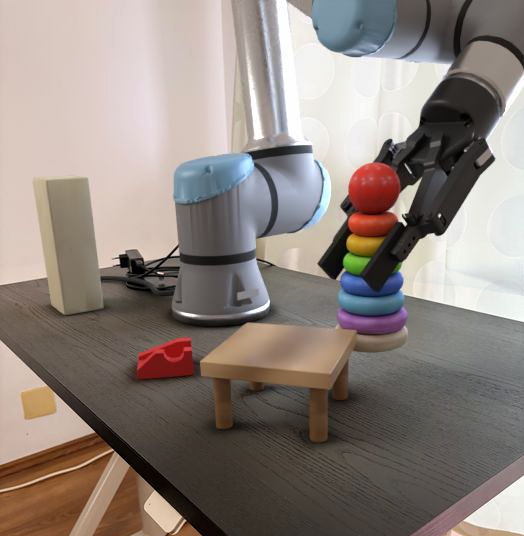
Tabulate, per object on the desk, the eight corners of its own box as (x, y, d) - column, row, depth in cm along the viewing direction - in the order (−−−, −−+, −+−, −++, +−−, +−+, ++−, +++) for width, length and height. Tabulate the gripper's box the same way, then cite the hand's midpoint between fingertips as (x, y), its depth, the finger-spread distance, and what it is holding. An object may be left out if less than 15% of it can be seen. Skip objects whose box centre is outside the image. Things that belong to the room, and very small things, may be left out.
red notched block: (192, 360, 73) (190, 337, 72) (193, 374, 68) (191, 350, 67) (140, 364, 72) (137, 341, 71) (137, 379, 67) (134, 355, 66)
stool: (205, 430, 55) (199, 361, 53) (249, 381, 66) (246, 322, 63) (330, 447, 51) (330, 373, 49) (356, 393, 62) (357, 329, 59)
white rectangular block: (109, 307, 97) (92, 176, 90) (65, 316, 93) (43, 179, 86) (93, 298, 103) (76, 174, 96) (51, 305, 100) (30, 177, 92)
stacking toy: (321, 337, 66) (319, 163, 59) (381, 327, 69) (387, 159, 62) (356, 360, 59) (359, 165, 53) (423, 347, 62) (433, 160, 55)
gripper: (565, 126, 56) (435, 320, 54) (418, 129, 71) (310, 281, 69) (540, 63, 52) (396, 272, 49) (388, 81, 67) (272, 242, 64)
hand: (347, 277), depth 59 cm, fingers closed on stacking toy, 6 cm apart
